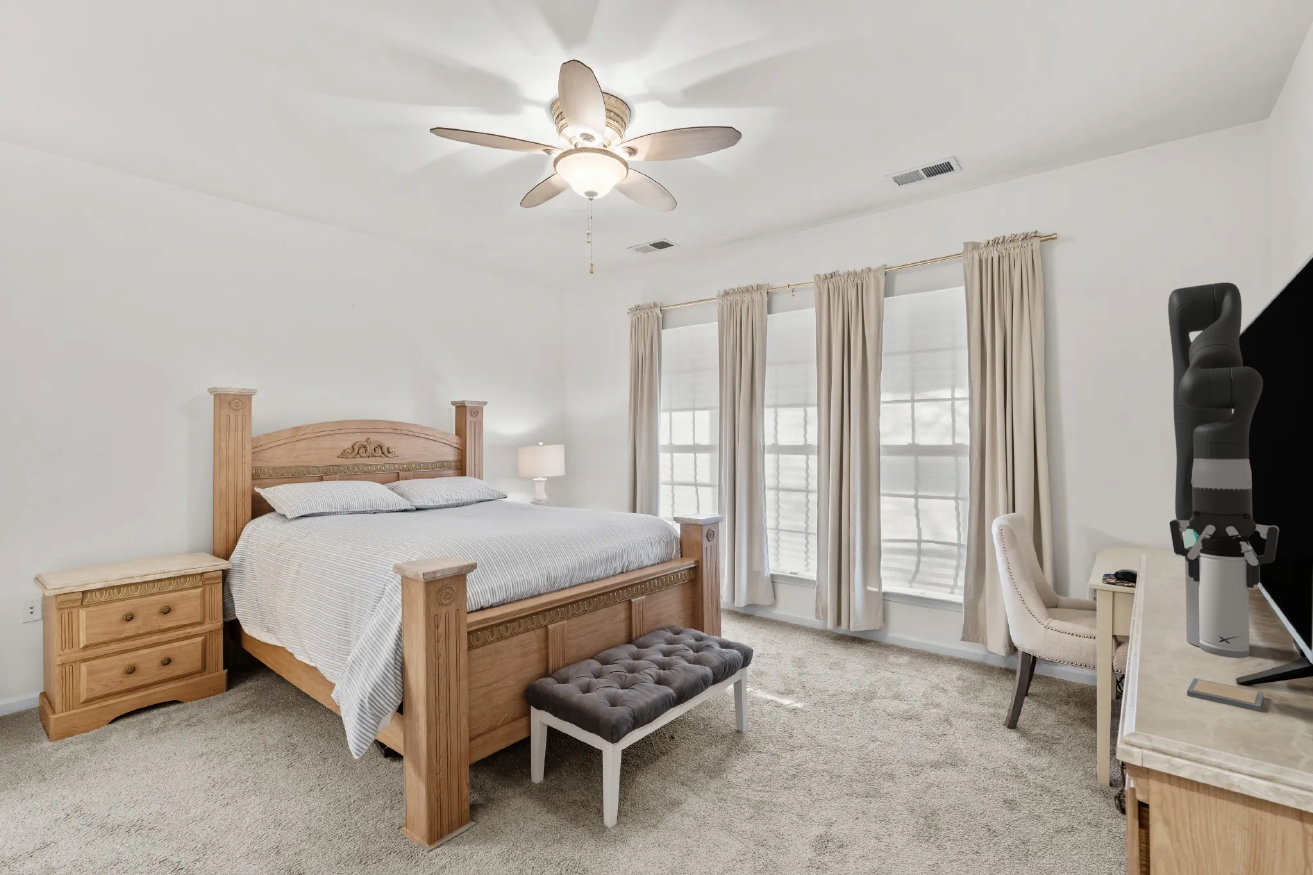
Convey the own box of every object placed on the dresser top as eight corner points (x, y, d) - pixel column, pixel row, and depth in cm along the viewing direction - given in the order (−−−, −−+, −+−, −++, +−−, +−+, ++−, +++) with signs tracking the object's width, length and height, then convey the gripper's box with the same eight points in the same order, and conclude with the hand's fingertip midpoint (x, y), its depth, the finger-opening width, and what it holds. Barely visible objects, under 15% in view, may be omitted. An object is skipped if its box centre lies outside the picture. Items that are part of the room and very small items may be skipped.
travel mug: (1234, 660, 102) (1232, 538, 102) (1190, 648, 109) (1189, 532, 109) (1261, 657, 104) (1260, 536, 104) (1216, 644, 110) (1215, 530, 110)
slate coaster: (1194, 682, 112) (1194, 677, 112) (1264, 697, 106) (1263, 691, 106) (1187, 695, 107) (1186, 689, 107) (1260, 711, 100) (1260, 705, 100)
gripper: (1282, 485, 104) (1284, 587, 104) (1171, 482, 114) (1172, 574, 114) (1279, 488, 99) (1281, 595, 99) (1163, 484, 109) (1165, 581, 109)
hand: (1223, 583), depth 106 cm, fingers closed on travel mug, 6 cm apart
